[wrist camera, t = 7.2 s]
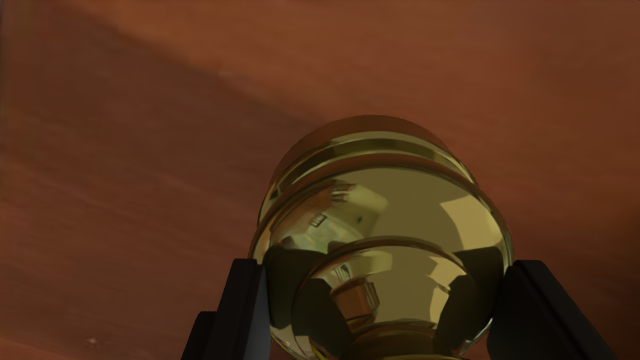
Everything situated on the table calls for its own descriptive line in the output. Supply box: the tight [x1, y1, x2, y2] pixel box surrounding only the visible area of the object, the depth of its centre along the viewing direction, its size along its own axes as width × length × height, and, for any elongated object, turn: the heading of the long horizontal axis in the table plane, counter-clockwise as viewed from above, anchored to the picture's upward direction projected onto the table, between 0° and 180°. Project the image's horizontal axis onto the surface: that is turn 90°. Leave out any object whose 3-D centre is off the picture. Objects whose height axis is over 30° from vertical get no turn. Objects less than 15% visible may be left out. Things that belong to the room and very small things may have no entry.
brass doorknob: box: [247, 115, 516, 360], centre depth 10 cm, size 7×7×10 cm
